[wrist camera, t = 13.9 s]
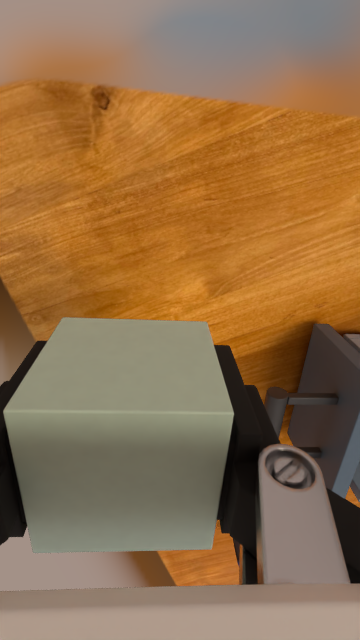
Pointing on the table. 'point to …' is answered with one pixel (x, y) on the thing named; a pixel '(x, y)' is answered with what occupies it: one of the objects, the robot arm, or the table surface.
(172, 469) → the soap cube
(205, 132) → the table surface
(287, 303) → the table surface
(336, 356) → the drawer
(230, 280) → the table surface
